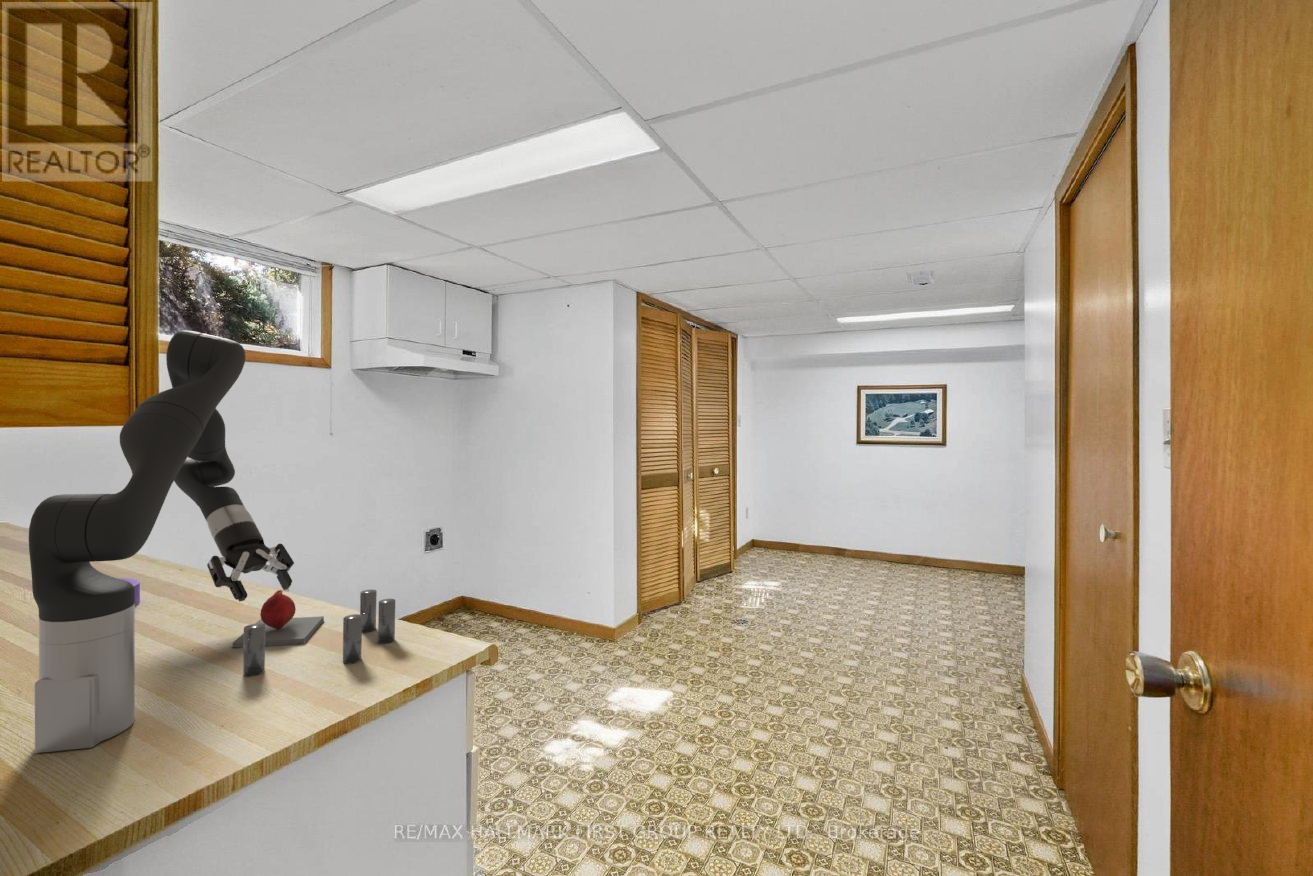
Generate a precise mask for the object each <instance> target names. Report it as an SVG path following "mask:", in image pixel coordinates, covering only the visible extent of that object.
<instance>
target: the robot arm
mask: <svg viewBox="0 0 1313 876" xmlns="http://www.w3.org/2000/svg"><path fill="white" fill-rule="evenodd" d="M165 354H166V356H165V357H166V369H167V372H168V377H169V380H170V385H171V388H169V389H165V390H163V391H161V392H158V393H155V394H154V395H152V396H150V397H148V398H146V399H145V400H143V401H142V402H140V404H139V405H138V406H137V407H136V409H135V410H134V411H133V412H132V414H131V415H130V416H129V418H128V419H127V421H125V423H124V424H125V425H122V427H121V430H120V433H119V446H120V448H121V452H122V454H123V456H124V459H126V463H127V464H128V466H129V468H130V470H131V473H132V475H131V477H130V479H129V481H128V483H127V484H126V485H125V487H124V488H123V489H122V490H120V491H118V492H116V493H69V494H68V493H66V494H65V493H64V494H56V495H52V496H49V497H46V498H45V499H43V500H42V501H40V503H39V504H38V505H37V507H36V508H35V510H34V511H33V514H32V516H31V519H30V523H29V527H28V553H29V562H30V572H31V573H30V574H31V588H32V596H33V599H34V600H35V601H34V602H35V604H36V605H37V608H38V680H36V682H35V683H34V753H35V754H39V753H50V752H60V751H71V750H79V749H80V750H81V749H91V748H93V747H95V746H97V744H99V743H102V742H103V741H106V740H108V739H111V738H113V737H115V736H117V735H119V734H121V733H123V732H124V731H126V730H127V729H128V728H130V727H131V726H132V725H133V723H134V722H135V719H136V716H135V715H136V714H135V713H136V711H135V708H136V705H135V703H136V702H135V698H136V697H135V695H136V693H135V689H136V688H135V686H136V683H135V676H136V675H135V671H136V670H135V668H136V667H135V666H136V665H135V662H136V661H135V660H136V659H135V655H136V654H135V649H136V645H135V644H136V643H135V635H136V633H135V632H136V631H135V626H136V625H135V623H136V619H135V618H136V612H135V611H136V606H135V589H134V586H133V585H132V584H131V583H130V582H128V581H125V580H122V579H119V578H117V577H114V576H110V575H107V574H106V573H103V572H101V571H100V570H98V569H96V568H95V567H94V566H93V565H92V564H91V562H109V561H111V562H113V561H121V560H127V559H130V558H131V557H133V556H135V555H136V554H138V552H139V551H140V550H141V549H142V548H143V547H144V545H145V544H146V542H147V540H148V539H149V536H150V535H151V533H152V530H153V528H154V526H155V524H156V522H157V520H158V517H159V515H160V513H161V510H162V507H163V505H164V504H165V501H166V498H167V496H168V494H169V491H170V489H171V487H172V485H173V483H175V485H176V486H177V487H178V488H179V489H180V491H182V493H184V494H186V495H187V497H189V498H190V499H191V500H192V501H193V502H194V503H195V504H196V505H197V506H198V507H199V509H200V511H201V513H202V515H203V517H204V519H205V521H206V523H207V527H208V529H209V532H210V535H211V537H212V539H213V540H214V542H215V544H216V546H217V548H218V550H219V552H220V555H221V556H222V557H219V556H218V555H213V556H212V557H211V558H210V560H209V561H208V563H207V564H206V566H207V567H206V568H207V569H208V572H209V574H210V576H211V579H212V581H213V584H214V586H215V587H216V588H222V587H227V588H229V591H230V593H231V595H232V596H233V598H234V599H235V600H237V601H238V602H239V603H240V602H244V601H245V600H246V599H247V598H248V593H247V590H246V588H245V587H244V585H243V582H242V580H239V579H240V576H241V574H242V573H243V574H249V573H251V572H259V571H261V570H263V571H264V572H266V573H269V572H270V573H271V574H274V575H275V576H276V579H277V581H278V582H279V584H280V587H281V588H282V591H286V590H288V589H290V587H291V586H292V583H293V579H292V578H291V575H290V574H289V571H290V570H291V568H292V567H293V566H294V565H295V562H294V560H293V558H292V557H291V555H290V554H289V552H288V550H287V549H286V547H285V545H284V544H282V543H278V544H277V545H276V546H272V547H268V546H266V544H265V542H264V540H265V539H264V537H263V536H262V534H261V532H260V530H259V528H258V526H257V524H256V523H255V521H254V519H253V517H252V515H251V514H250V512H249V511H248V510H247V509H246V507H245V505H244V503H243V501H242V499H241V498H240V495H239V493H238V492H237V491H236V489H235V488H233V487H230V486H222V485H226V484H228V483H230V482H231V481H232V480H233V479H234V477H235V475H236V474H235V473H236V471H235V466H234V464H233V462H232V460H231V458H230V456H229V454H228V451H227V447H226V424H225V421H224V419H223V417H222V415H221V413H220V412H219V411H218V409H217V407H218V406H219V404H220V403H221V401H223V399H224V397H225V396H226V395H227V394H228V392H230V389H231V388H232V387H233V385H234V384H235V383H236V381H238V378H239V377H240V375H241V374H242V371H243V369H244V366H245V362H246V351H245V349H244V347H243V345H241V343H239V342H238V341H235V340H232V339H229V338H224V337H221V336H218V335H217V336H216V335H212V334H207V333H202V332H199V331H193V330H187V329H185V330H182V329H181V330H179V331H176V332H175V334H173V335H172V337H171V339H170V341H169V343H168V346H167V349H166V353H165ZM188 458H189V459H188ZM267 562H268V563H269V564H267ZM224 565H226V566H228V567H229V568H231V569H232V571H230V575H229V576H227V574H226V571H225V569H224V567H223V566H224Z"/></svg>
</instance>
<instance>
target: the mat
mask: <svg viewBox="0 0 1313 876" xmlns="http://www.w3.org/2000/svg"><path fill="white" fill-rule="evenodd" d="M324 621H325V616H324V615H322V616H304V617H303V616H301V617H293V618H292V619H291V620H290V621H289V622H288V623H287V624H285V625H284V626H283V627H282V628H281V629H275V628H272V627H269V626H268V625H266V624H265V623H263V621H262V620H261V619H258V620H257V622H255V623H254V624H257V623H263V624H265V647H269V646H270V647H272V646H284V645H285V646H286V645H287V646H288V645H299V644H298V643H304V642H305V641H306V642H307V641H308V640H309V638H310V637H312V635H313V634H314V633H315V632H316V630H318V628H319V627H320V626H321V624H322V623H323V622H324ZM313 632H314V633H313ZM312 633H313V634H312ZM307 639H308V640H307ZM306 642H305V643H306ZM305 643H304V644H305ZM232 647H241V648H244V632H243V633H242V634H241V635H240V636H239V637H237V638H236V639H235V640H234V641H233V642H232V646H231V648H232Z"/></svg>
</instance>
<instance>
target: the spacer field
mask: <svg viewBox="0 0 1313 876" xmlns="http://www.w3.org/2000/svg"><path fill="white" fill-rule="evenodd" d="M359 596H360V597H359V599H360V601H359V614H358V613H354V614H349V615H346V616H344V617H343V619H342V620H343V625H342V627H343V629H342V663H343V664H347V665H348V663H352V664H355V663H354V662H356V661H359V660H360V659H361V660H362V641H363V639H362V638H363V637H362V635H363V633H371V632H374V631H375V630H376V629H377V643H378V644H382V645H383V644H385V645H386V644H390V643H394V642H395V639H396V638H395V635H396V633H395V632H396V599H394V598H383V599H380V600H379V601H378V617H377V596H378V595H377V590H376V589H365V590H362V591H360V593H359ZM363 613H365V614H363ZM377 618H378V619H377ZM377 620H378V622H377ZM377 625H378V627H377ZM243 633H244V647H243V657H242V658H243V663H242V666H243V667H242V669H243V670H242V672H243V673H242V674H244V675H246V676H245V677H253V676H252V675H254V676H258V675H260V674H259V673H261V674H263V673H264V672H265V671H264V670H266V669H265V668H266V646H265V624H263V623H257V624H255V623H252V624H248V625H246V626H244V627H243ZM361 660H360V661H361ZM360 661H359V662H360ZM356 663H357V662H356ZM263 671H264V672H263ZM262 672H263V673H262ZM257 674H258V675H257ZM244 675H243V676H244Z"/></svg>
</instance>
